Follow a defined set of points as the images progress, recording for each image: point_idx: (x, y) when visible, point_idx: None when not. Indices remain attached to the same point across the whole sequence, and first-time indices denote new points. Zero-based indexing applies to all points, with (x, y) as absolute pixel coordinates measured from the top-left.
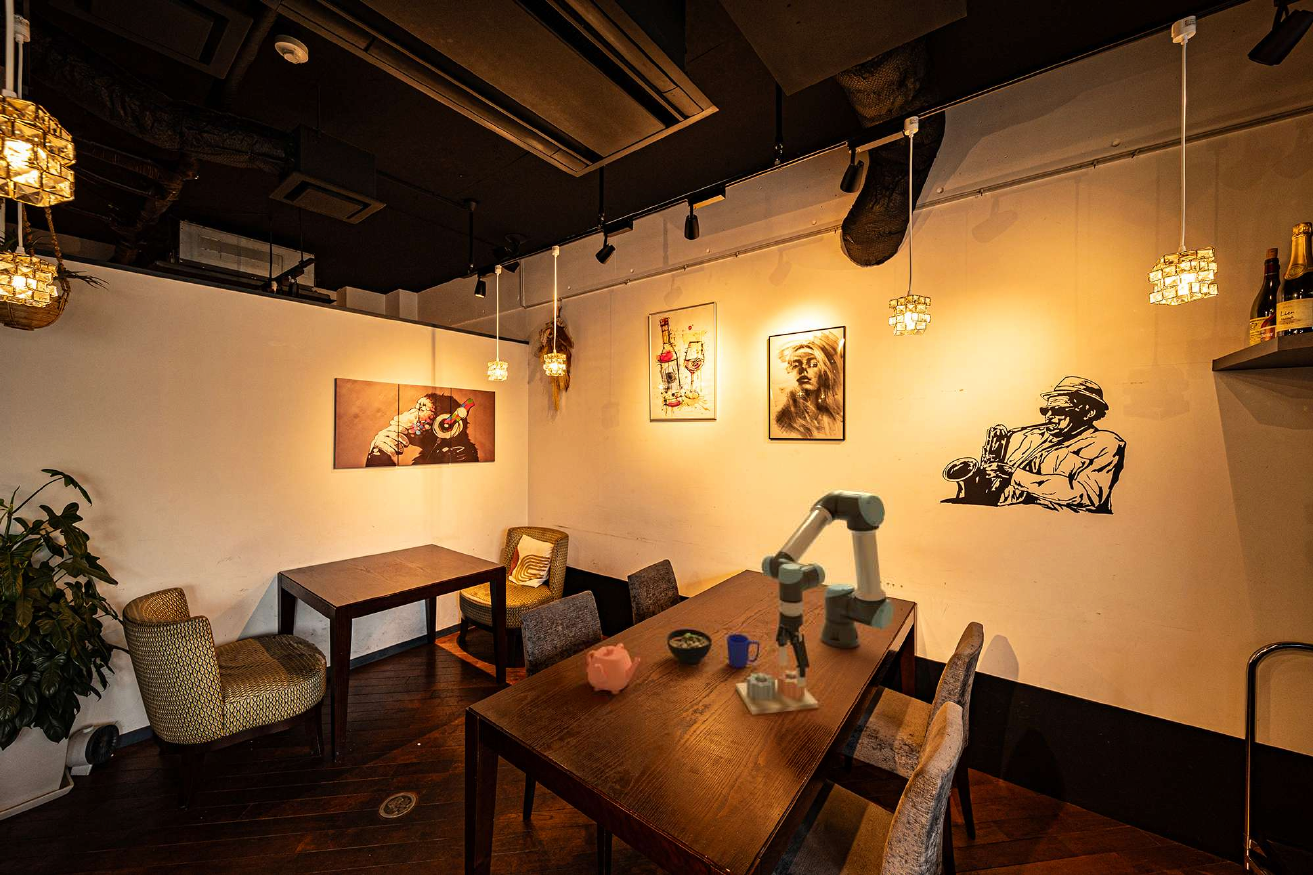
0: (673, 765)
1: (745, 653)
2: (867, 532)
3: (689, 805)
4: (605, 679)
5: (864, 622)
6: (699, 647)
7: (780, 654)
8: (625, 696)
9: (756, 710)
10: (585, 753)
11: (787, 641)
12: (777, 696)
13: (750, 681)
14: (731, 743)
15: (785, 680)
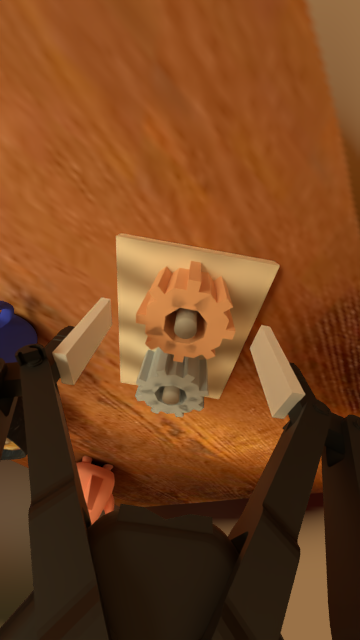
0: (258, 472)
1: (3, 350)
2: None
3: (314, 479)
4: (112, 501)
5: None
6: (18, 444)
7: (90, 354)
8: (119, 463)
9: (221, 393)
10: (203, 494)
11: (56, 396)
12: None
13: (169, 411)
14: (263, 434)
15: (201, 354)
